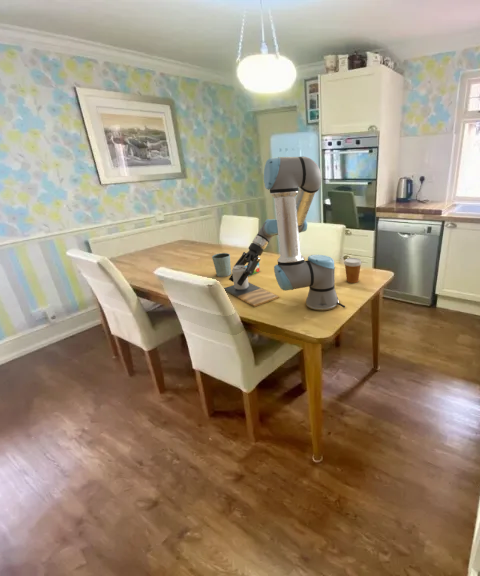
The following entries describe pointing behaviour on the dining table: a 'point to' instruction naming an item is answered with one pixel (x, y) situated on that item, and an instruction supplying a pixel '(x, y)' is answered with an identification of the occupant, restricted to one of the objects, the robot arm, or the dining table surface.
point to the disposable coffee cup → (352, 269)
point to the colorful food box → (255, 269)
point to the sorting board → (252, 294)
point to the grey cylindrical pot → (222, 264)
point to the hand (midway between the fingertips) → (234, 282)
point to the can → (237, 273)
